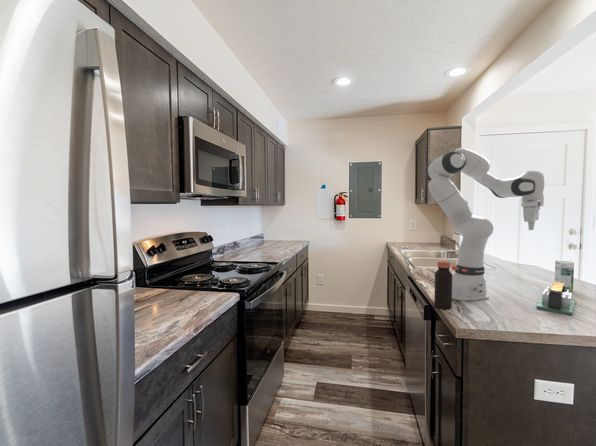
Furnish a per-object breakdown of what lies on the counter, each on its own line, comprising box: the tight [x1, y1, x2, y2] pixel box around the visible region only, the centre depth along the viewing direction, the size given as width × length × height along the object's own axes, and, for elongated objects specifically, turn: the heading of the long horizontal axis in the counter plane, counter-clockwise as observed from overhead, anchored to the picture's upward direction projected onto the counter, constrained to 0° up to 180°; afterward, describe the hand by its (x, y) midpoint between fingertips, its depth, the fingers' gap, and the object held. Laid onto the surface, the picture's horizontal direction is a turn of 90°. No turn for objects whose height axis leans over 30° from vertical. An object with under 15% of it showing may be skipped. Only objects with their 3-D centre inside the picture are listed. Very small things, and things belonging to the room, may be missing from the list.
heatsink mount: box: [536, 285, 576, 316], centre depth 126 cm, size 23×11×7 cm, turn 134°
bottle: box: [433, 260, 453, 310], centre depth 125 cm, size 7×7×20 cm
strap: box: [549, 281, 564, 294], centre depth 126 cm, size 18×4×1 cm, turn 134°
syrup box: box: [554, 260, 575, 291], centre depth 150 cm, size 6×6×14 cm
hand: (531, 229), depth 148 cm, fingers closed
